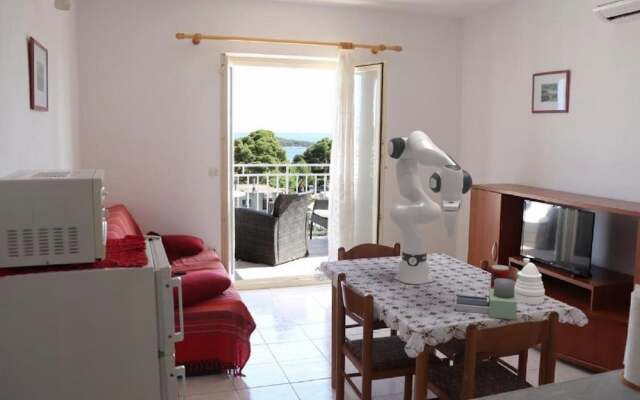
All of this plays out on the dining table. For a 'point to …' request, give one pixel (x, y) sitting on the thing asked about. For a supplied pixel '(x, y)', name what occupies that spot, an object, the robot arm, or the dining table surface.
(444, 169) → the robot arm
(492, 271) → the canned food
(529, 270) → the honey pot
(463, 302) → the chute
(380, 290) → the dining table surface
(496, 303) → the green base with cylinder
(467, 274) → the dining table surface
